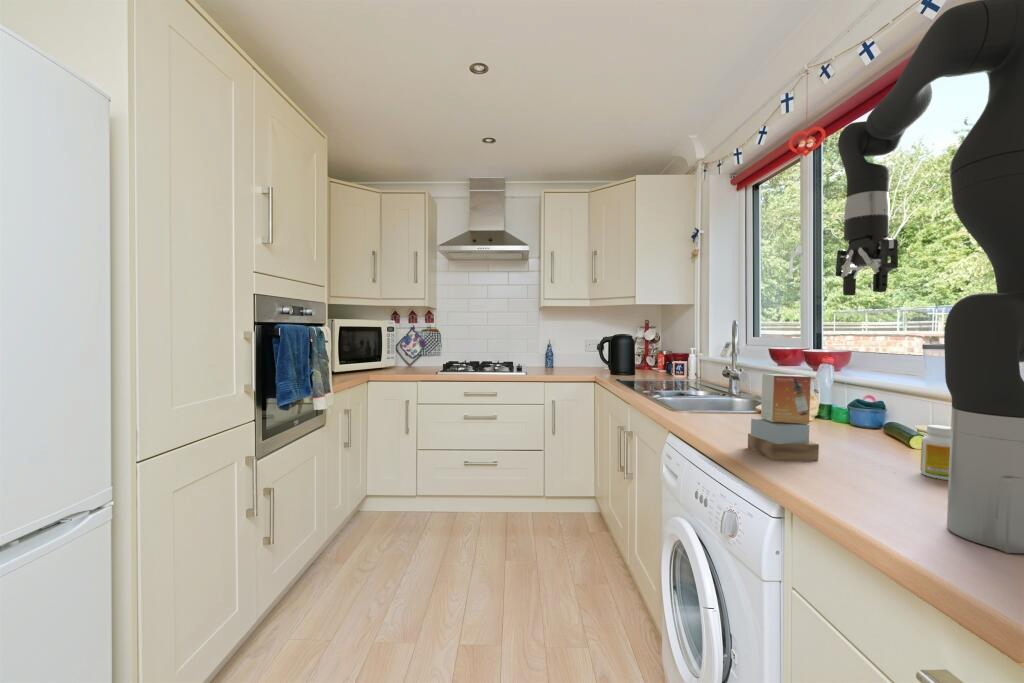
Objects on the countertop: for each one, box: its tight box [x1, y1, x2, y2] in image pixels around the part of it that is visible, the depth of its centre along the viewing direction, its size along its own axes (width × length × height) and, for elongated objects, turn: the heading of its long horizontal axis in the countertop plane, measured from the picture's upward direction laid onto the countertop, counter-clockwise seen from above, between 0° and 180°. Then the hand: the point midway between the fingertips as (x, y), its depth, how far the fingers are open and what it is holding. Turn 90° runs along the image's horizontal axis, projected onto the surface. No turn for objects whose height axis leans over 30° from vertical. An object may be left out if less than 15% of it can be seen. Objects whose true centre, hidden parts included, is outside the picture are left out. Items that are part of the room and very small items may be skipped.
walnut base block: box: [747, 432, 820, 461], centre depth 102 cm, size 10×10×4 cm
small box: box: [760, 373, 812, 425], centre depth 102 cm, size 8×6×10 cm
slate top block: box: [750, 417, 810, 444], centre depth 102 cm, size 8×8×4 cm
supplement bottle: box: [920, 424, 951, 481], centre depth 88 cm, size 5×5×10 cm
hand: (863, 293), depth 96 cm, fingers open, 8 cm apart
